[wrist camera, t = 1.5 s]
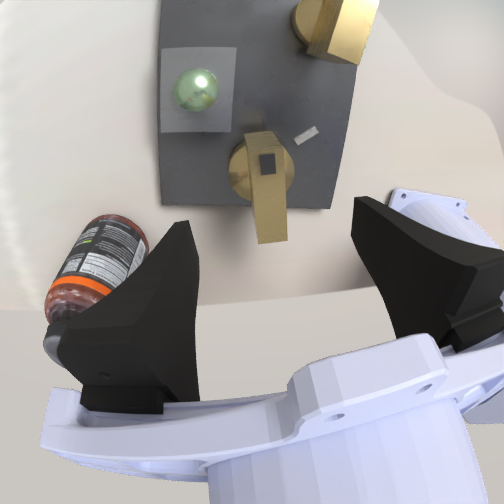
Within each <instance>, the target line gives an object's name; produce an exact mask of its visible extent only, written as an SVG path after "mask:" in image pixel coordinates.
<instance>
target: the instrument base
mask: <svg viewBox="0 0 504 504" xmlns="http://www.w3.org/2000/svg"><path fill="white" fill-rule="evenodd" d="M300 1H301V0H162V9H161V21H160V35H159V55H158V144H159V165H160V182H161V195H162V205H164V204H195V205H250V206H252V201H249V200H247V199H245V198H243V197H241V196H240V195H239V194H238V193H237V192H236V191H235V190H234V189H233V187H232V185H231V183H230V180H229V168H228V166H229V159H230V156H231V154H232V152H233V151H234V149H235V148H236V147H237V146H238V145H239V144H240V143H242V142H243V141H245V137H244V134H247V133H256V132H266V131H272V132H273V133H274V135H275V136H276V138H277V139H278V141H279V142H280V144H281V145H282V146H283V147H284V148H285V149H286V150H287V152H288V154H289V155H290V157H291V159H292V161H293V164H294V178H293V181H292V183H291V185H290V187H289V188H288V190H287V191H286V207H301V208H319V209H330V207H331V203H332V199H333V194H334V190H335V186H336V181H337V176H338V172H339V167H340V162H341V157H342V152H343V147H344V142H345V137H346V132H347V126H348V121H349V115H350V109H351V104H352V97H353V91H354V85H355V78H356V71H357V65H350V64H337V63H331V62H328V61H325V60H323V59H320V58H317V57H314V56H311V55H308V54H306V53H307V49H308V46H307V45H306V44H305V43H303V42H302V41H301V40H300V39H299V37H298V36H297V35H296V33H295V31H294V29H293V25H292V13H293V10H294V8H295V6H296V5H297V4H298V3H299V2H300Z"/></svg>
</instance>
